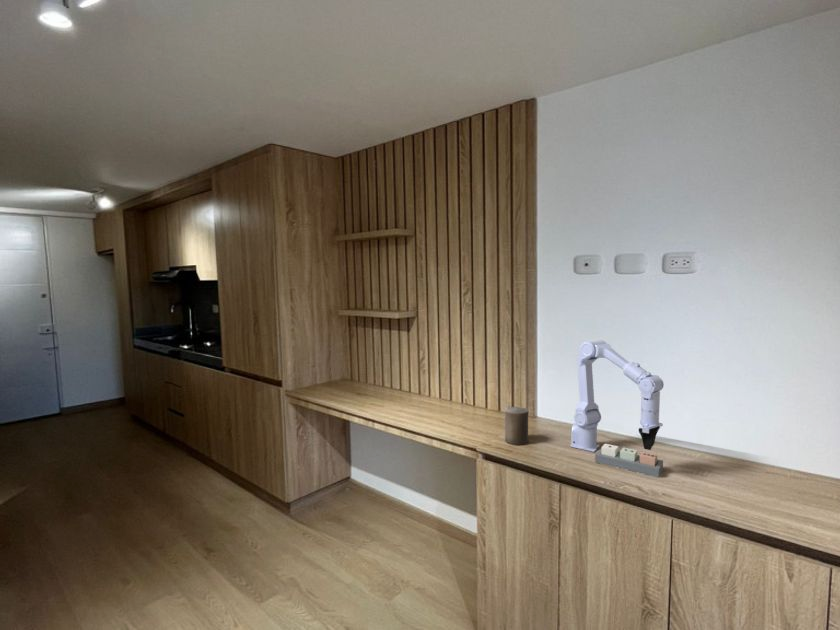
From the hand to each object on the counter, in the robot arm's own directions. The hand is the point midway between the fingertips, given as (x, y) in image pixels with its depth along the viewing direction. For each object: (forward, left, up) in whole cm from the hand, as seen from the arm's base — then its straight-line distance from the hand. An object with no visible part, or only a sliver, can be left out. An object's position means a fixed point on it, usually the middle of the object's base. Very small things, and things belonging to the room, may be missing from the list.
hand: (648, 447), depth 154 cm
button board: (-6, 0, -8) cm, 11 cm away
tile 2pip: (-6, 0, -7) cm, 9 cm away
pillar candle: (-50, -2, -9) cm, 51 cm away
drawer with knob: (-13, 0, -7) cm, 15 cm away
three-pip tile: (0, 0, -7) cm, 7 cm away
